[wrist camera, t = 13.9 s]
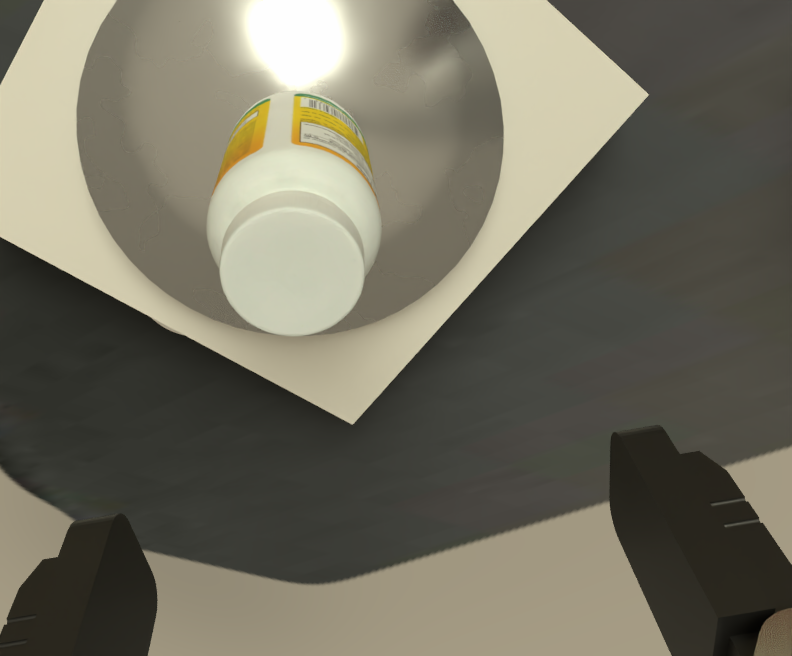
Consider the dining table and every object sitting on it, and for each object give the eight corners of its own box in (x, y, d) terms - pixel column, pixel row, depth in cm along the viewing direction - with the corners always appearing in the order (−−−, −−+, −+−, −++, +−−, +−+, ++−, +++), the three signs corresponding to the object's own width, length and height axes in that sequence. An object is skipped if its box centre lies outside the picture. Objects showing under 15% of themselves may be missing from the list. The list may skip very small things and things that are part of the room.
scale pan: (581, 108, 30) (588, 113, 29) (343, 383, 35) (344, 393, 35) (227, -199, 23) (225, -201, 23) (8, 196, 29) (1, 204, 28)
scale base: (614, 71, 33) (648, 94, 30) (342, 384, 41) (345, 432, 37) (218, -291, 26) (205, -314, 22) (-29, 178, 33) (-67, 215, 30)
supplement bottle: (356, 77, 27) (379, 168, 19) (376, 212, 30) (403, 341, 22) (209, 99, 27) (169, 200, 19) (243, 233, 30) (221, 370, 22)
